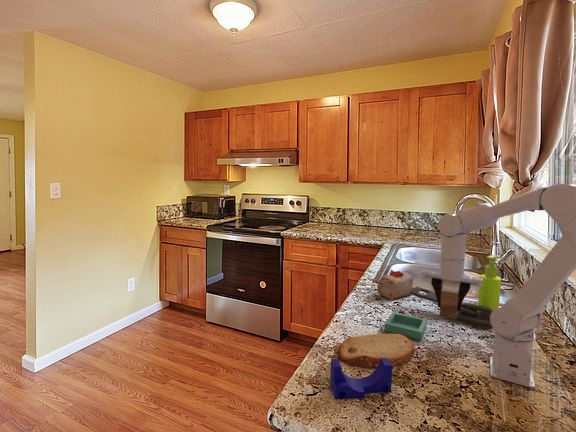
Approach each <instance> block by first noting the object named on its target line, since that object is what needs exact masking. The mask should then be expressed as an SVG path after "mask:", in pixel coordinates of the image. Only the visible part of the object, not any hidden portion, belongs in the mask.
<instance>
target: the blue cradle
mask: <svg viewBox="0 0 576 432" xmlns="http://www.w3.org/2000/svg"><path fill="white" fill-rule="evenodd" d="M392 366H393V365H392V364H391V363H390V361H389V360H388V359H387V357H386V358H380V360H379V364H378V366H377V368H376V369H374V371H373V372H372V373H370V374H369V375H366V376H365V377H361V378H358V377H357V378H356V377H355V378H354V377H350V376H349V375H347V374H345V373H344V372H343V366H342V365H341V361H340V360H339V359H338V358H331V359H330V375H329V376H330V378H329V380H330V381H329V386H330V389H331V392H332V395H333V397H334V400H336V401H337V400H357V399H358V400H359V399H360V400H361V399H362V400H363V399H366V394H383V393H386V394H388V393H392V385H393V384H392V383H393V381H392V380H393V367H394V366H393V367H392Z"/></svg>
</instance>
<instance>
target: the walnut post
mask: <svg viewBox="0 0 576 432" xmlns="http://www.w3.org/2000/svg"><path fill="white" fill-rule="evenodd" d="M458 299H459V288H453V287H446V286H442V290H441V303H440V307H439V317H442V318H444V317H448V318H452V319H456V318H457V312H458V311H457V305H458Z"/></svg>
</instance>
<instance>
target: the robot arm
mask: <svg viewBox="0 0 576 432" xmlns="http://www.w3.org/2000/svg"><path fill="white" fill-rule="evenodd" d="M530 210H531V211H532V210H536V211H544V212H546V214H547V215H548V216H549V217H550V218H551V220H553V221H554V222H555V223H556V224H557V226H558V228H559V229H558V230H559V232H560V233H561V236H560V238H559V239H558V240H557V242H556V243H555V245H554V246H553V247H552V248H551V249H550V251H549V252H548V253H547V254H546V256H545V257H544V258H543V260H542V261H541V262H540V264H538V266H537V267H536V269H535V270H534V272H532V274H531V275H530V276H529V278H527V280H526V281H525V283H524V284H523V286H522V287H521V288H520V289H519V291H518V292H516V294H514V295H513V296H512V297H511V298H509V299H508V300H507V301H505V302H504V304H503V305H502V306H499V308H497V309H495V310H493V311H492V313H491V315H490V322H491V325H492V327H493V328H492V329H494V340H493V348H492V349H493V352H492V356H490V357H489V372H490V376H491V377H492V378H494V379H498V380H502V381H506V382H510V383H512V384H515V385H516V384H517V385H520V386H523V387H528V388H531V389H535V388H536V384H535V380H534V376H533V371H532V364H533V363H532V361H533V360H532V359H533V348H534V339H535V334H534V329H537V328H538V327H539V326H540V324H541V320H542V319H541V318H542V315H543V313H544V312H545V311H546V307H545V305H546V304H547V303H548V302H549V301H550V300H551V299H552V297H553V296H554V295H555V294H556V292H557V291H559V289H560V288H561V287H562V286H563V284H564V283H565V282H566V281H567V280H568V279H569V278H570V276H571V275H572V274H573V273H574V272H575V271H576V184H568V183H556V184H553V185H550V186H546V187H545V186H544V187H539V188H537V189H533V190H530V191H528V192H525V193H522V194H519V195H517V196H515V197H511V198H510V199H507V200H504V201H502V202H499V203H495V204H493V205H491V204H489V203H487V202H483V203H482V202H476V203H473V206H471V207H470V208H466V209H458V210H457V211H456V213H454V214H453V213H445V214H444V215H442V216H441V217H440V218H439V220H438V222H437V223H438V224H437V227H438V231H439V232H440V234H441V245H440V246H441V248H440V261H439V262H440V263H439V271H438V270H425V269H423V270H422V271H421V279H430V280H431V282H430V285H431V286H432V289H433V290H434V291H433V292H434V293H435V294H436V297H437V302H438V303H437V307H438V308H440V303H441V290H442V288H443V284H444V282H450V283H454V284H455V283H456V284H459V286H458V289H459V298H458V305H457V311H460V308H461V304H462V303H464V302H463V301H464V300H465V298H466V296H467V295H468V293H469V291H470V290H471V286H474V287H475V286H476V287H478V288H479V287H482V283H483V278H480V277H476V276H471V275H467V274H464V273H465V272H464V271H465V260H466V259H465V258H466V247H467V246H466V245H467V241H468V240H467V239H468V235H469V234H470V233H471V232H475V231H479V230H482V229H486V228H489V227H492V226H495V225H496V223H497V222H498V221H499V219H501V218H504V217H508V216H512V215H515V214H520V213H524V212H527V211H530Z"/></svg>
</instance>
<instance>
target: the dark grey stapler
mask: <svg viewBox="0 0 576 432" xmlns="http://www.w3.org/2000/svg"><path fill="white" fill-rule="evenodd" d="M421 292H422V293H425V294H421ZM410 294H411V296H414V297H418V298H421V299H424V300H427V301H430V302H432V303H435V304H438V302H437V297H436V294H435V291H431V290H429V289H427V288H423V287H420V286H415V287H413V289H412V290H411V292H410ZM479 311H481V312H479ZM492 311H493V310H492V309H491V308H489V307H484V306H480V305H478V304H476V303H470V302H462V304H461V308H460V311H458V312H457V318H456V319H452V318H448V317H443V318H444V319H447V320H449V321H452V322H457V323H459V324H464V325H467V326H471V327H474V328H478V329H481V330H482V329H484V330H492V329H494V328H493V327H492V325H491V322H490V315H491V313H492Z"/></svg>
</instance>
